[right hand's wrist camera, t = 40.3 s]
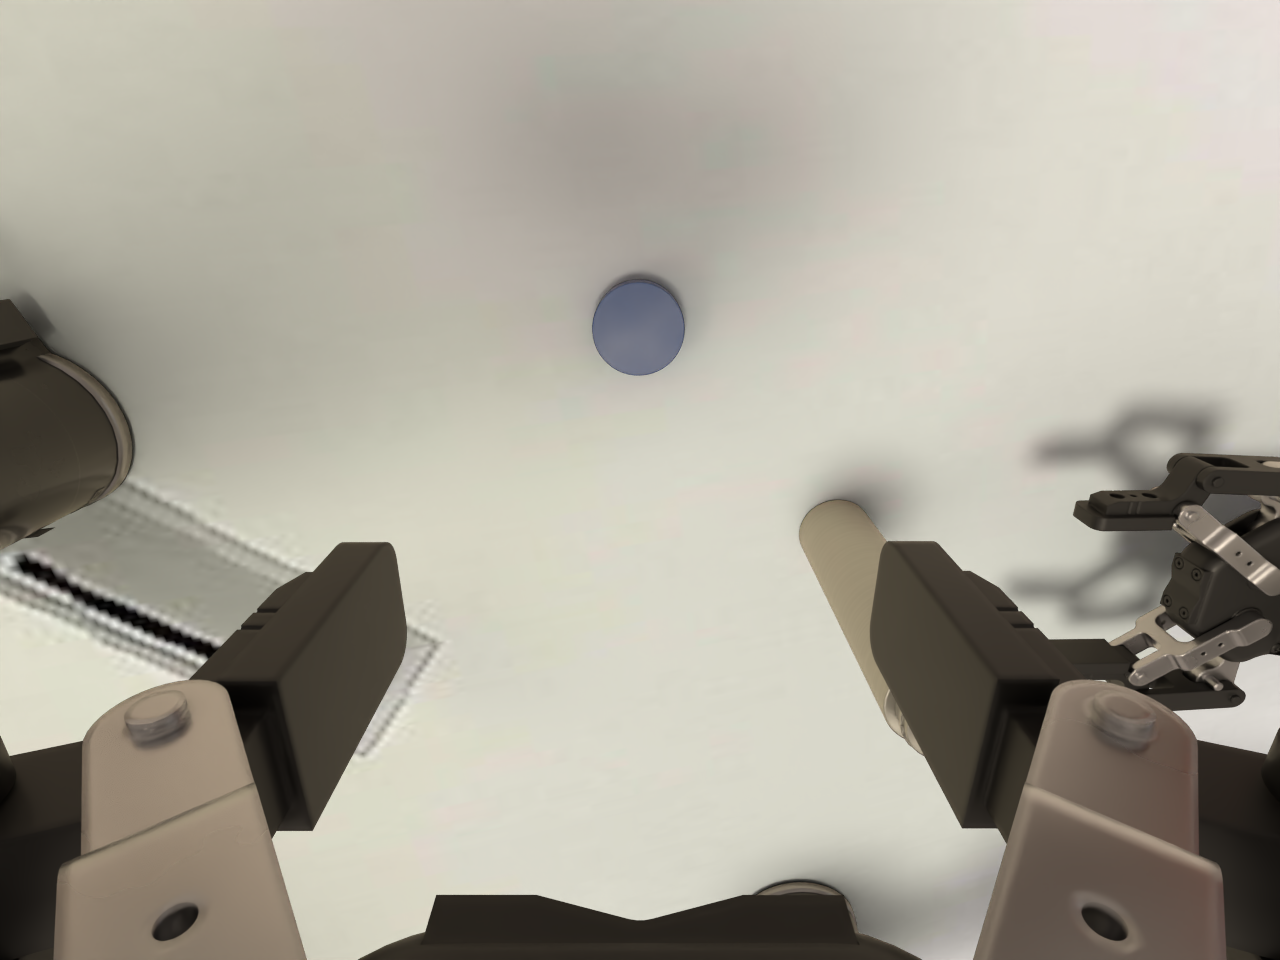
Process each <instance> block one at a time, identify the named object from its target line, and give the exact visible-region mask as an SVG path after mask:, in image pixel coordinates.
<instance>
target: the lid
mask: <svg viewBox="0 0 1280 960" xmlns="http://www.w3.org/2000/svg"><path fill="white" fill-rule="evenodd" d="M684 330H685V327H684V319H683V315H682V312H681V310H680V307H679V305H678V303H677V301H676V300H675V298H674V297H673V296H672V294H671V293H670V292H669V291H667V290H666V289H665V288H664V287H662V286H661V285H659V284H657V283H655V282H651V281H648V280H638V279H637V280H629V281H625V282H623V283H620V284H618V285H616V286H615V287H613V288H612V289H611V290H609V291H608V292H607V293H606V294H605V296H604V297H603V298H602V300H601V301H600V303H599V305H598V307H597V309H596V312H595V315H594V318H593V325H592V332H593V339H594V343H595V346H596V348H597V350H598V352H599V354H600V355H601V357H602V358H603V359H604V360H605V361H606V362H607V363H608V364H609V365H610V366H611V367H613V368H614V369H616V370H618V371H620V372H622V373H626V374H629V375H647V374H652V373H654V372H657V371H659V370H661V369H663V368H664V367H666V366H667V365H668V364H669V363H670V362H671V361H672V360H673V359H674V358H675V357H676V355H677V354H678V352H679V350H680V348H681V346H682V342H683V339H684Z"/></svg>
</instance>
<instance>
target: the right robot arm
mask: <svg viewBox="0 0 1280 960" xmlns="http://www.w3.org/2000/svg"><path fill="white" fill-rule="evenodd" d="M131 459H132V442H131V436H130V431H129V428H128V425H127V422H126V420H125V418H124V415H123V413H122V412H121V410H120V408H119V406H118V405H117V403H116V402H115V400H114V399H113V398H112V396H111V395H110V394H109V392H108V391H107V390H106V389H105V388H104V387H103V386H102V385H101V384H100V383H99V382H98V381H97V380H96V379H95V378H94V377H92V376H91V375H90V374H89V373H87V372H86V371H85V370H83V369H82V368H80V367H79V366H77V365H75V364H74V363H72V362H70V361H68V360H66V359H64V358H62V357H59V356H57V355H54V354H52V353H51V352H50V351H49V350H48V349H47V348H46V347H45V346H44V344H43V343H42V342H41V340H40V339H39V338H38V337H37V335H36V334H35V332H34V331H33V330H32V328H31V327H30V326H29V324H28V323H27V322H26V320H25V319H24V318H23V316H22V315H21V314H20V312H19V311H18V309H17V308H16V307H15V305H14V304H13V303H12V301H11V300H10V299H7V300H0V550H2V549H4V548H5V547H7V546H9V545H11V544H13V543H15V542H17V541H19V540H21V539H23V538H31V537H38V536H40V535H42V534H44V533H46V532H48V531H49V530H51V529H53V528H47V529H41V528H43V527H45V526H47V525H49V524H51V523H53V522H55V521H56V520H58V519H60V518H62V517H64V516H66V515H68V514H70V513H73V512H75V511H77V510H79V509H81V508H83V507H85V506H88V505H90V504H92V503H94V502H96V501H98V500H100V499H102V498H104V497H106V496H107V495H109V494H110V493H112V492H113V491H114V490H115V489H117V488H118V487H119V485H120V484H121V483H122V482H123V480H124V479H125V477H126V475H127V473H128V471H129V468H130V464H131ZM54 528H55V527H54ZM406 640H407V626H406V618H405V611H404V605H403V598H402V591H401V585H400V578H399V571H398V565H397V558H396V554H395V550H394V548H393V546H392V545H391V544H390V543H388V542H342V543H340V544H338V545H337V546H336V547H335V548H334V549H333V551H332V552H331V553H330V554H329V555H328V556H327V557H326V558H325V559H324V560H323V562H322V563H321V564H320V565H319V566H318V567H317V568H316V569H315V570H314V571H313V572H305V573H303V574H302V575H300V576H298V577H296V578H295V579H293V580H291V581H290V582H288V583H286V584H284V585H283V586H281V587H279V588H277V589H276V590H275V591H274V592H273V593H272V594H271V595H270V596H269V597H268V598H267V599H266V600H265V601H264V602H263V603H262V604H261V606H260V607H259V608H258V609H257V613H253V614H252V615H251V616H250V617H249V618H248V619H247V620H246V621H245V622H244V623H243V624H242V625H241V630H236V631H235V632H234V633H233V635H232V636H231V637H230V638H229V639H228V640H227V641H226V642H225V643H224V644H223V645H222V646H221V647H220V648H219V649H218V650H217V651H216V652H215V653H214V654H213V655H212V656H211V657H210V658H209V659H208V660H207V661H206V662H205V664H204V665H203V666H202V667H201V668H200V669H199V670H198V671H197V672H196V673H195V674H194V675H193V676H192V677H191V678H190V679H189V680H185V681H177V682H172V683H168V684H164V685H160V686H157V687H154V688H151V689H148V690H146V691H143V692H141V693H139V694H136V695H134V696H132V697H130V698H128V699H126V700H124V701H123V702H121V703H119V704H118V705H116V706H114V707H113V708H111V709H110V710H109V711H107V712H106V713H105V714H103V715H102V716H101V717H100V718H99V719H98V720H97V721H96V722H95V723H94V724H93V725H92V726H91V727H90V729H89V730H88V731H87V733H86V735H85V737H84V739H83V741H80V742H76V743H71V744H66V745H61V746H56V747H51V748H47V749H42V750H37V751H32V752H27V753H23V754H18V755H13V756H9V754H8V752H7V750H6V748H5V745H4V743H3V741H2V739H1V736H0V960H307V958H306V955H305V951H304V948H303V945H302V941H301V938H300V934H299V931H298V927H297V924H296V921H295V917H294V914H293V910H292V907H291V904H290V900H289V897H288V893H287V890H286V886H285V883H284V880H283V876H282V873H281V869H280V866H279V862H278V859H277V856H276V852H275V849H274V845H273V842H272V838H273V836H274V834H275V833H276V831H313V829H314V827H315V825H316V823H317V821H318V820H319V818H320V816H321V814H322V812H323V810H324V808H325V806H326V804H327V803H328V801H329V799H330V797H331V795H332V793H333V791H334V789H335V787H336V786H337V784H338V782H339V780H340V778H341V776H342V774H343V772H344V770H345V769H346V767H347V765H348V763H349V761H350V759H351V757H352V755H353V753H354V752H355V750H356V748H357V746H358V744H359V742H360V740H361V738H362V736H363V735H364V733H365V731H366V729H367V727H368V725H369V723H370V721H371V719H372V718H373V716H374V714H375V712H376V710H377V708H378V706H379V704H380V702H381V701H382V699H383V697H384V695H385V693H386V691H387V689H388V687H389V685H390V684H391V682H392V680H393V678H394V676H395V674H396V672H397V670H398V668H399V667H400V665H401V662H402V660H403V657H404V653H405V648H406ZM870 644H871V650H872V654H873V657H874V660H875V662H876V665H877V666H878V668H879V670H880V672H881V674H882V676H883V678H884V680H885V682H886V684H887V686H888V687H889V689H890V691H891V693H892V695H893V697H894V699H895V701H896V703H897V705H898V707H899V708H900V710H901V712H902V714H903V716H904V718H905V720H906V722H907V724H908V726H909V728H910V729H911V731H912V733H913V735H914V737H915V739H916V741H917V743H918V745H919V747H920V749H921V751H922V752H923V754H924V756H925V758H926V760H927V762H928V764H929V766H930V768H931V770H932V772H933V773H934V775H935V777H936V779H937V781H938V783H939V785H940V787H941V789H942V791H943V793H944V794H945V796H946V798H947V800H948V802H949V804H950V806H951V808H952V810H953V812H954V814H955V815H956V817H957V819H958V821H959V823H960V825H961V827H962V828H998V830H999V831H1000V833H1001V835H1002V837H1003V838H1004V840H1005V842H1006V843H1007V845H1006V849H1005V852H1004V856H1003V859H1002V862H1001V866H1000V869H999V873H998V876H997V880H996V883H995V886H994V890H993V893H992V897H991V900H990V904H989V907H988V910H987V914H986V917H985V921H984V924H983V927H982V931H981V934H980V938H979V941H978V945H977V948H976V951H975V955H974V958H973V960H1280V728H1279V730H1278V732H1277V734H1276V736H1275V739H1274V741H1273V743H1272V746H1271V748H1270V750H1269V752H1268V755H1267V754H1262V753H1258V752H1253V751H1248V750H1243V749H1238V748H1233V747H1229V746H1224V745H1219V744H1214V743H1209V742H1204V741H1200V740H1197V739H1196V737H1195V735H1194V733H1193V731H1192V730H1191V729H1190V727H1189V726H1188V725H1187V724H1186V723H1185V722H1184V721H1183V720H1182V719H1181V718H1180V717H1179V716H1178V715H1177V714H1175V713H1174V712H1173V711H1171V710H1170V709H1169V708H1167V707H1166V706H1164V705H1162V704H1161V703H1159V702H1157V701H1156V700H1154V699H1152V698H1150V697H1148V696H1146V695H1144V694H1141V693H1139V692H1137V691H1134V690H1132V689H1129V688H1126V687H1123V686H1120V685H1116V684H1112V683H1108V682H1103V681H1095V680H1087V679H1086V678H1085V677H1084V676H1083V675H1082V674H1081V673H1080V672H1079V671H1078V670H1077V669H1076V668H1075V667H1074V666H1073V664H1072V663H1071V662H1070V661H1069V660H1068V659H1067V658H1066V657H1065V656H1064V655H1063V654H1062V653H1061V652H1060V651H1059V650H1058V649H1057V648H1056V647H1055V646H1054V645H1053V644H1052V643H1051V641H1050V640H1049V639H1048V638H1047V637H1046V636H1045V635H1044V634H1043V633H1042V632H1041V631H1040V630H1039V629H1038V628H1034V624H1033V623H1032V622H1031V621H1030V620H1029V619H1028V617H1027V616H1026V615H1025V614H1024V613H1023V612H1022V611H1018V607H1017V606H1016V605H1015V604H1014V603H1013V602H1012V601H1011V600H1010V599H1009V598H1008V597H1007V596H1006V594H1005V593H1004V592H1003V591H1002V590H1001V589H1000V588H999V587H997V586H995V585H993V584H992V583H990V582H988V581H987V580H985V579H983V578H981V577H980V576H978V575H976V574H974V573H973V572H971V571H962V570H961V569H960V567H959V566H958V565H957V564H956V563H955V562H954V561H953V560H952V559H951V557H950V556H949V555H948V554H947V553H946V552H945V551H944V550H943V549H942V547H941V546H940V545H939V544H938V543H936V542H934V541H888V542H886V543H885V544H884V546H883V548H882V550H881V554H880V559H879V566H878V573H877V579H876V586H875V593H874V600H873V607H872V613H871V620H870ZM358 960H922V959H920V958H918V957H916V956H914V955H912V954H910V953H908V952H906V951H904V950H902V949H900V948H898V947H896V946H894V945H891V944H889V943H886V942H883V941H881V940H878V939H876V938H873V937H870V936H867V935H864V934H860V933H856V932H854V928H853V925H852V921H851V918H850V915H849V911H848V908H847V905H846V901H845V898H844V895H742V896H738V897H734V898H730V899H726V900H723V901H719V902H715V903H711V904H707V905H704V906H700V907H696V908H692V909H688V910H684V911H681V912H677V913H673V914H669V915H665V916H662V917H658V918H654V919H649V920H631V919H626V918H622V917H618V916H615V915H611V914H607V913H603V912H599V911H596V910H592V909H588V908H584V907H580V906H576V905H573V904H569V903H565V902H561V901H557V900H554V899H550V898H546V897H542V896H538V895H436V898H435V901H434V905H433V908H432V911H431V915H430V918H429V921H428V925H427V928H426V932H424V933H420V934H416V935H413V936H410V937H407V938H404V939H402V940H399V941H397V942H394V943H391V944H389V945H386V946H384V947H382V948H380V949H378V950H376V951H374V952H372V953H370V954H368V955H366V956H364V957H362V958H360V959H358Z"/></svg>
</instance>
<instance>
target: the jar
mask: <svg viewBox="0 0 1280 960" xmlns="http://www.w3.org/2000/svg"><path fill="white" fill-rule="evenodd" d="M799 539H800V543H801V546H802V548H803V550H804V552H805V554H806V556H807V559H808V561H809V563H810V565H811V567H812V569H813V571H814V573H815V575H816V577H817V579H818V581H819V583H820V585H821V587H822V590H823V592H824V594H825V596H826V598H827V600H828V602H829V604H830V606H831V608H832V610H833V612H834V614H835V616H836V618H837V621H838V623H839V625H840V627H841V629H842V631H843V633H844V635H845V637H846V639H847V641H848V643H849V645H850V647H851V649H852V652H853V654H854V656H855V658H856V660H857V662H858V664H859V666H860V668H861V670H862V672H863V674H864V676H865V678H866V680H867V683H868V685H869V687H870V689H871V691H872V693H873V695H874V697H875V699H876V701H877V703H878V705H879V707H880V709H881V711H882V714H883V716H884V718H885V720H886V722H887V723H888V725H889V727H890V728H891V729H892V730H893V731H894V732H895V733H896V734H898V735H899V736H901V737H902V738H904V739H905V740H906V742H907V743H908V744H909V745H910V746H911V747H913V748H914V749H915V750H916V751H917V752H918V753H920V754H921V755H923V756H924V754H923V752H922V751H921V749H920V747H919V745H918V743H917V741H916V739H915V737H914V735H913V733H912V731H911V729H910V728H909V726H908V724H907V722H906V720H905V718H904V716H903V714H902V712H901V710H900V708H899V707H898V705H897V703H896V701H895V699H894V697H893V695H892V693H891V691H890V689H889V687H888V686H887V684H886V682H885V680H884V678H883V676H882V674H881V672H880V670H879V668H878V666H877V665H876V662H875V660H874V657H873V654H872V650H871V644H870V620H871V613H872V607H873V600H874V593H875V586H876V579H877V573H878V566H879V559H880V554H881V550H882V548H883V546H884V544H885V543H886V542H887V541H886V540H885V538H884V537H883V536H882V534H881V533H880V532H879V530H878V529H877V528H876V526H875V525H874V524H873V522H872V521H871V520H870V518H869V517H868V516H867V514H866V513H865V512H864V510H863V509H862V508H861V507H859V506H858V505H856V504H854V503H852V502H849V501H845V500H832V501H827V502H824V503H822V504H820V505H818V506H816V507H815V508H813V509H812V510H811V511H810V512H809V513H808V514H807V515H806V517H805V518H804V520H803V522H802V524H801V527H800V531H799Z"/></svg>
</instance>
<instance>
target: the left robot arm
mask: <svg viewBox="0 0 1280 960" xmlns="http://www.w3.org/2000/svg"><path fill="white" fill-rule="evenodd" d="M1167 471H1168V472H1169V473H1170V474H1169V475H1168V477H1167V478H1166V480H1165V481H1164V482H1163V483H1162V484H1161V485H1160V486H1157V487H1154V488H1152V489H1151V490H1124V491H1099V492H1097V493H1094V494H1091V495H1090V498H1089V500H1085V501H1077V502H1076V504H1075V509H1074V513H1073V516H1074V517H1076V518H1077V519H1079V520H1080V521H1081V522H1083V523H1084V524H1086V525H1087V526H1088V527H1090V528H1092V529H1095V530H1099V531H1153V530H1172V528H1173V529H1174V530H1175V531H1176V532H1177V533H1179V534H1180V535H1181V536H1182V537H1183V538H1185V539H1186V540H1187V541H1188V542H1189V543H1190V544H1189V545H1188V546H1187V547H1186V548H1185V549H1184V550H1183V551H1182V553H1175V557H1174V560H1173V563H1172V578H1171V580H1170V582H1169V584H1168V585H1167V587H1166V588H1165V590H1164V592H1163V595H1162V598H1161V602H1160V604H1162V605H1161V606H1159V607H1158V608H1156V609H1154V610H1152V611H1150V612H1148V613H1147V614H1145V615H1143V616H1141V617H1139V618H1138V619H1137V620H1136V627H1135V628H1134V629H1133V630H1131V631H1129V632H1127V633H1125V634H1124V635H1122V636H1120V637H1118V638H1116V639H1114V640H1113V641H1111V642H1109V643H1108V642H1107V641H1106V640H1105V639H1056V640H1050V641H1051V643H1052V644H1053V645H1054V646H1055V647H1056V648H1057V649H1058V650H1059V651H1060V652H1061V653H1062V654H1063V655H1064V656H1065V657H1066V658H1067V659H1068V660H1069V661H1070V662H1071V663H1072V664H1073V666H1074V667H1075V668H1076V669H1077V670H1078V671H1079V672H1080V673H1081V674H1082V675H1083V676H1084V677H1085V678H1086V679H1087V680H1106V682H1108V683H1112V684H1116V685H1120V686H1123V687H1126V688H1129V689H1132V690H1134V691H1137V692H1139V693H1141V694H1144V695H1146V696H1148V697H1150V698H1152V699H1154V700H1156V701H1157V702H1159V703H1161V704H1162V705H1164V706H1166V707H1167V708H1169V709H1170V710H1171V711H1180V710H1196V709H1213V708H1230V707H1236V706H1238V705H1240V704H1241V703H1242V702H1243V701H1244V700H1245V697H1246V695H1245V692H1244V691H1242V690H1241V689H1240V688H1239V687H1237V686H1236V685H1235V684H1234V680H1235V677H1236V674H1237V670H1238V667H1239V664H1240V662H1244V661H1248V660H1250V659H1252V658H1255V657H1258V656H1261V655H1265V654H1273V655H1280V458H1279V457H1265V456H1242V455H1218V454H1195V453H1179V454H1176V455H1174V456H1173V457H1172V458H1171V459H1170V460H1169V461H1168V463H1167ZM1210 493H1212V494H1236V495H1248V496H1249V497H1250V498H1252V499H1254V500H1257V501H1259V502H1260V503H1261V509H1256V510H1252V511H1249V512H1247V513H1245V514H1243V515H1241V516H1239V517H1238V518H1236V519H1234V520H1232V521H1230V522H1228V523H1227V524H1225V525H1222V524H1221V523H1220V522H1219V521H1218V520H1217V519H1215V518H1214V517H1213V516H1212V515H1211V514H1210V513H1208V512H1207V511H1206V510H1205V509H1204V508H1203V507H1201V506H1202V505H1203V503H1204V502H1205V500H1206V499H1207V498H1208V496H1209V495H1210ZM1175 625H1178V626H1179V627H1180V628H1182V629H1183V630H1184V631H1186V632H1187V633H1188V634H1189V635H1191V636H1192V637H1194V638H1195V639H1194V640H1192V641H1189V642H1179V641H1177V640H1176V639H1174V638H1173V637H1172V636H1171V635H1169V634H1168V633H1167V632H1166V630H1168V629H1169V628H1171V627H1173V626H1175ZM1149 647H1154V648H1157V649H1158V650H1157V651H1156V652H1154V653H1152V654H1150V655H1148V656H1146V657H1144V658H1143V659H1141V660H1140V659H1139V658H1138V657H1137V656H1136V654H1137V653H1139V652H1141V651H1143V650H1145V649H1147V648H1149ZM1149 688H1152V689H1149ZM757 895H841V894H840V893H838V892H837V891H835V890H833V889H831V888H829V887H826V886H823V885H819V884H815V883H807V882H794V883H786V884H781V885H777V886H774V887H771V888H769V889H766V890H764V891H762V892H760V893H759V894H757ZM844 898H845V897H844ZM845 901H846V905H847V908H848V911H849V915H850V918H851V921H852V925H853V928H854V932H856V933H858V930H857V923H856V919H855V916H854V912H853V909H852V907H851V905H850V903H849V902H848V901H847V900H846V899H845Z"/></svg>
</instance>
